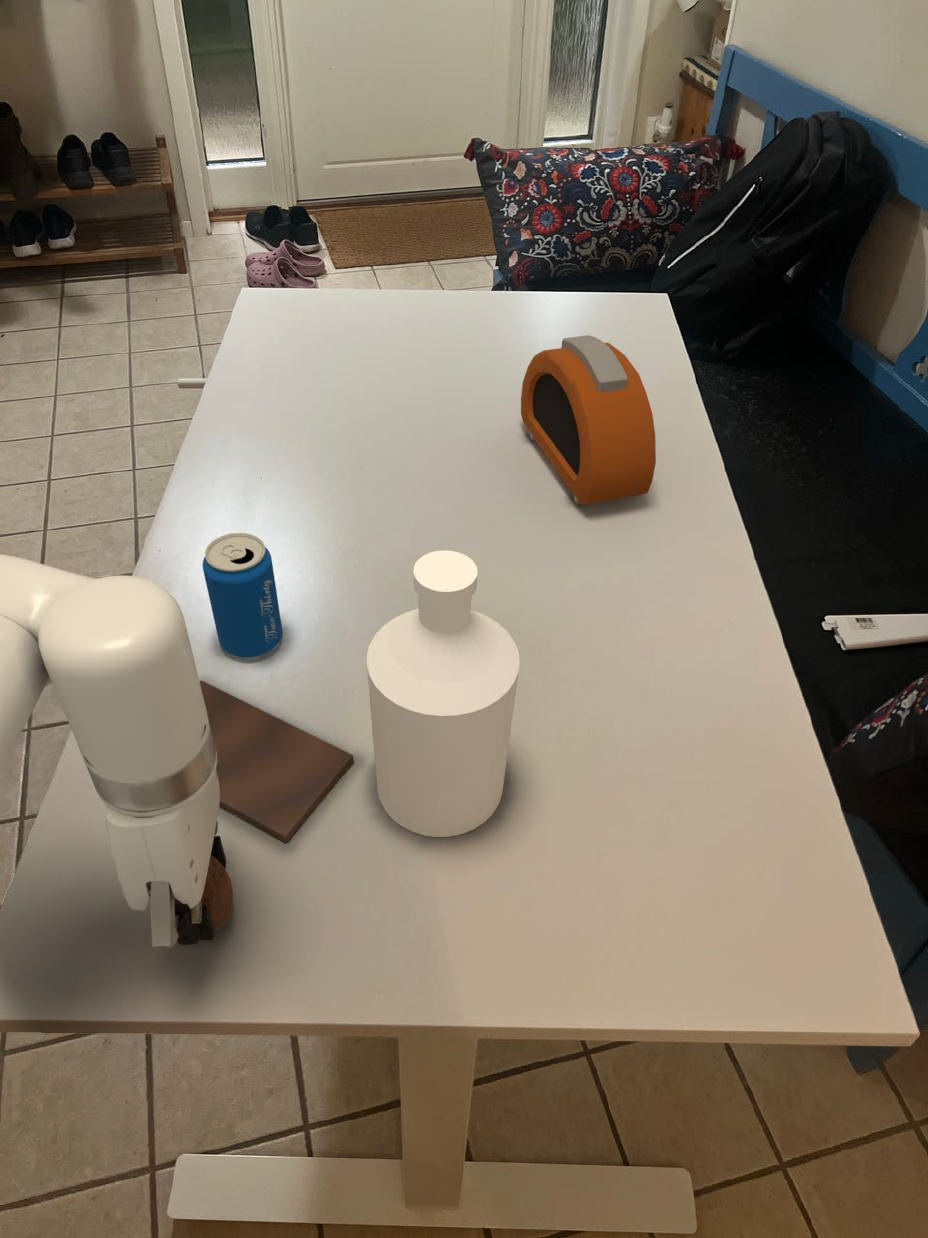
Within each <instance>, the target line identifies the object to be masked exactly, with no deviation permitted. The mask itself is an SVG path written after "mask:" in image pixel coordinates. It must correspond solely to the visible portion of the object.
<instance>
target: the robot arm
mask: <svg viewBox="0 0 928 1238" xmlns="http://www.w3.org/2000/svg"><path fill="white" fill-rule="evenodd" d="M49 685H52V686H53V689H54V691H55V694H56V696H57V698H58V701H59V703H60V706H61V708H62V711H63V712H64V715H65V717H66V720H67V722H68V725H69V727H70V730H71V732H72V735H73V737H74V739H75V742H76V744H77V746H78V750H79V752H80V754H81V756H82V759H83V762H84V764H85V766H86V769H87V772H88V774H89V776H90V779H91V781H92V784H93V786H94V789H95V791H96V793H97V795H98V797H99V798H100V800H101V801H102V802H103V803H104V805H105V823H106V831H107V832H106V833H107V839H108V844H109V850H110V853H111V858H112V861H113V865H114V868H115V871H116V875H117V878H118V881H119V884H120V887H121V890H122V893H123V896H124V898H125V901H126V903H127V905H128V906H129V908H130V909H131V910H132V911H145V910H146V908H147V906H148V905H149V902H150V921H151V923H150V924H151V925H150V926H151V927H150V928H151V947H152V949H173V947H174V946H175V944H176V943H177V944H179V945H182V946H183V945H184V946H194V945H198V944H199V942H207V941H213V940H214V939H215V934H216V931H215V930H214V927H213V924H212V921H211V918H210V914H209V911H208V908H207V907H206V906H203V905H201V898H202V895H203V891H204V886H205V882H206V877H207V872H208V866H209V861H210V856H211V855H212V856H213V857H215V858H216V859H217V860H218V861H219V862H220V863H221V864H222V866H223V867H224V868H225V869H226V868H227V861H228V860H227V858H226V853H225V849H224V845H223V842H222V838H221V836H220V835H217V834H218V829H219V822H218V815H219V810H220V806H219V803H220V787H219V781H218V776H217V772H216V766H217V752H216V748H215V744H214V740H213V736H212V732H211V728H210V723H209V719H208V715H207V711H206V706H205V702H204V698H203V694H202V690H201V686H200V677H199V674H198V670H197V666H196V661H195V657H194V653H193V649H192V644H191V641H190V636H189V633H188V628H187V625H186V620H185V618H184V614H183V611H182V609H181V607H180V605H179V602H177V600H176V598H175V597H174V596H173V595H172V594H171V593H170V592H169V591H168V590H167V589H166V588H164V587H163V586H162V585H160V584H158V583H157V582H154V581H152V580H150V579H148V578H144V577H140V576H135V575H120V574H119V575H109V576H108V575H107V576H103V577H98V578H95V577H92V576H91V577H90V576H86V575H82V574H77V573H74V572H71V571H67V570H64V569H60V568H57V567H54V566H50V565H46V564H44V563H40V562H37V561H33V560H29V559H26V558H22V557H18V556H13V555H9V554H1V553H0V769H1V768H2V767H3V766H4V764H5V763H6V761H7V760H8V758H9V757H10V755H11V753H12V751H13V749H14V748H15V746H16V744H17V742H18V740H19V738H20V737H21V735H22V733H23V731H24V729H25V727H26V725H27V723H28V721H29V720H30V717H31V715H32V713H33V711H34V709H35V707H36V705H37V704H38V701H39V700H40V698H41V695H42V693H43V691H44V689H45V688H46V687H47V686H49ZM175 899H177V900H179V901H180V902H181V903H183V904H175Z"/></svg>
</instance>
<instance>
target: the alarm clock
mask: <svg viewBox="0 0 928 1238" xmlns="http://www.w3.org/2000/svg"><path fill="white" fill-rule="evenodd" d="M520 395H521V396H520V417H521V420H522V423H523V424H524V426H525V427H526V429H527V430H528V432H529V438H530V439H531V440H532V441H535V442H536V443H537V445H538V446H539V447H540V449H541V450H542V452H543V453H544V454H545V456H546V457H547V459H548V460H549V461H550V462H551V464H552V465H553V467H554V468H555V470H556V471H557V473H558V474H559V475H560V477H561V478H562V480H563V481H564V483H565V484H566V486H567V487H568V488H569V489H570V491H571V492H572V494H573V501H574V502H575V504H577V505H578V504H580V505H586V506H587V505H590V504H591V505H592V504H596V503H602V502H609V501H613V500H619V499H620V500H621V499H625V498H631V497H636V496H641V495H643V496H644V495H646V494H648V493H649V491H650V488H651V487H652V483H653V481H654V474H655V469H656V463H657V455H656V453H657V451H656V449H657V448H656V447H657V446H656V431H655V430H656V429H655V424H654V416H653V410H652V407H651V404H650V400H649V397H648V394H647V392H646V389H645V386H644V384H643V381H642V379H641V376H640V373H639V372H638V371H637V369H636V368H635V367H634V365H633V364H632V363H631V361H630V360H629V359H628V358H627V356H626V355H625V354H624V353H623V352H622V351H620V349H618V348H616V347H615V346H614V345H612V344H611V343H610V342H603V340H601V339H599V338H598V337H596V336H594V335H593V336H592V335H588V334H586V335H578V336H571V337H570V336H569V337H563V339H562V340H561V347H559V348H550V349H543V350H542V351H540V352H539V353H537V354H535V355H533V357H532V359H531V360H530V362H529V364H528V366H527V368H526V371H525V373H524V378H523V380H522V385H521V394H520Z"/></svg>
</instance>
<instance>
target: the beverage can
mask: <svg viewBox="0 0 928 1238" xmlns="http://www.w3.org/2000/svg"><path fill="white" fill-rule="evenodd" d="M202 571H203V576H204V580H205V585H206V590H207V594H208V597H209V598H208V599H209V602H210V607H211V613H212V616H213V617H212V618H213V621H214V625H215V630H216V635H217V639H218V640H217V641H218V643H219V646H220V647H221V649H222V650H223V651H224V652H225V653H226V654H228V655H229V656H233V657H235V658H240V659H241V658H243V659H253V658H257V657H262V656H264V655H266V654H268V653H270V652H272V651H273V650H274V649H275V648H276V647H278V645H279V644H280V642H281V640H282V638H283V626H282V625H283V624H282V619H281V613H280V612H281V611H280V606H279V598H278V593H277V586H276V585H277V584H276V578H275V573H274V565H273V559H272V554H271V552H270V550H269V549H268V548H267V547H266V545H265V543H264V542H263V540H262V539H261V538H259V537H258V536H256V535H254V534H251V533H246V532H233V533H227V534H222V535H221V536H219V537H216V538H215V539H213V540H212V541H210V543H209V544H208V545H207V546H206V548H205V550H204V557H203V560H202Z"/></svg>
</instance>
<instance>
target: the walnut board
mask: <svg viewBox="0 0 928 1238" xmlns="http://www.w3.org/2000/svg"><path fill="white" fill-rule="evenodd" d="M199 682H200V686H201V690H202V694H203V698H204V702H205V706H206V711H207V715H208V719H209V723H210V728H211V732H212V736H213V740H214V744H215V748H216V752H217V766H216V772H217V776H218V781H219V787H220V803H219V808H222V809H224V810H226V811H227V812H229V813H231V814H233V815H234V816H236V817H238V818H240V819H241V820H244V821H245V822H247V823H249V824H251V825H253V826H254V827H256V828H258V829H259V830H262V831H263V832H265V833H267V834H268V835H270V836H273V837H274V838H276V839H278V840H280V841H281V842H282V843H285V844H287V843H288V842H289V841H290V840H291V838H292V837H293V836H294V834H296V832H297V831H298V830H299V829H300V828H301V826H302V825H303V824H304V823H305V822H306V820H307V819H308V818H309V816H310V815H311V814H312V813H313V812H314V811H315V810H316V809H317V807H318V806H319V804H320V803H321V802H322V801H323V800H324V798H325V797H326V796H327V795H328V794H329V792H330V791H331V790H332V789H333V787H334V786H335V785H336V784H337V783H338V782H339V780H340V779H341V778H342V776H343V775H344V774H345V773H346V772H347V770H348V769H349V768H350V767H351V766H352V765H353V763H354V762H355V761H354V760H355V759H354V755H353V754H351V753H349V752H347V751H345V750H343V749H342V748H339V747H337V746H335V745H333V744H331V743H329V742H327V741H325V740H323V739H321V738H319V737H317V736H315V735H313V734H312V733H309V732H307V731H305V730H303V729H300V728H299V727H297V726H295V725H293V724H291V723H289V722H287V721H284V720H283V719H280V718H278V717H277V716H274V715H273V714H270V713H269V712H267V711H264V710H262V709H260V708H258V707H256V706H255V705H252V704H250V703H248V702H247V701H244V700H243V699H240V698H238V697H236V696H234V695H232V694H230V693H229V692H225V691H224V690H222V689H220V688H218V687H215V686H214V685H212V684H210V683H207V682H206V681H204V680H199Z"/></svg>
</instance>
